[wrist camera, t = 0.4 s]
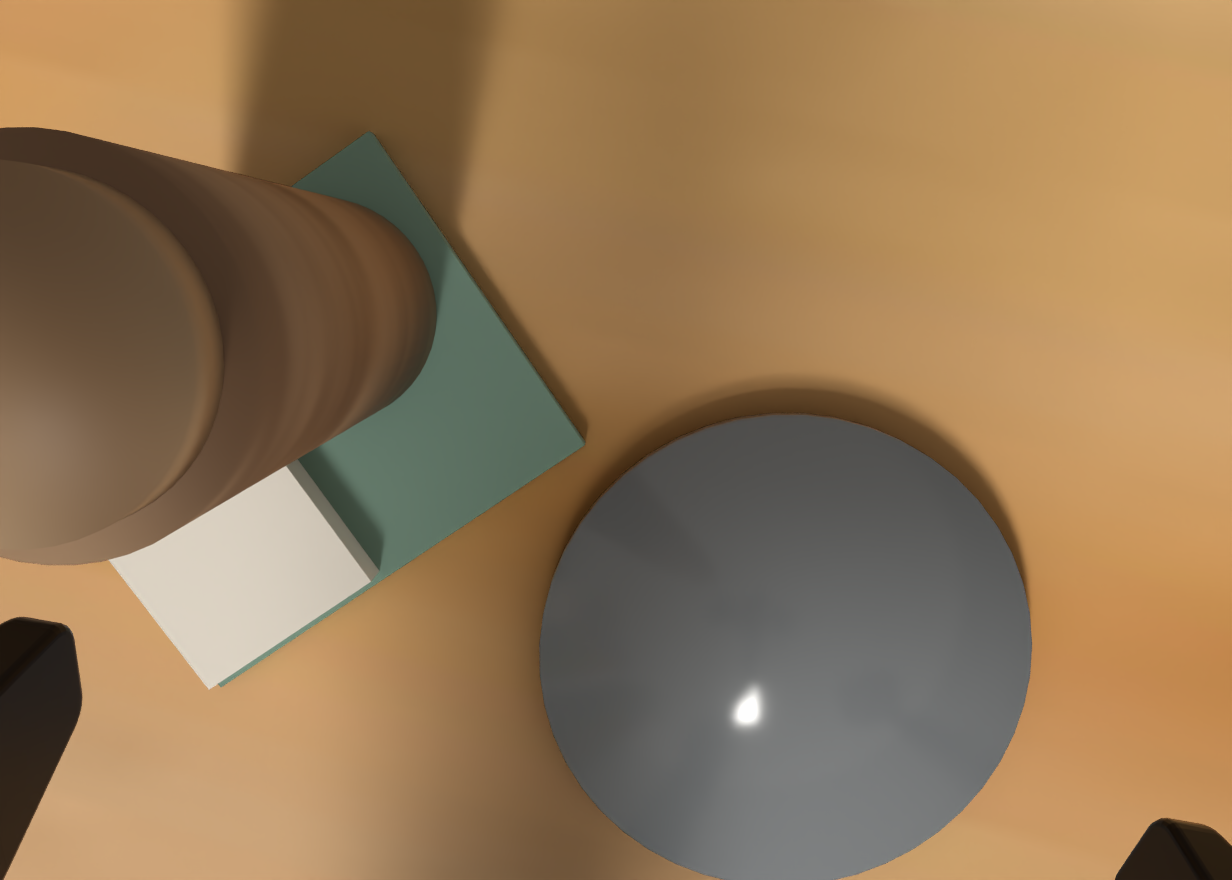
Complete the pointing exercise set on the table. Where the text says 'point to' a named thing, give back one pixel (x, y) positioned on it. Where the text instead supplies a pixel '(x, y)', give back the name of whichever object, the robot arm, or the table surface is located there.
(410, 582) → the table surface
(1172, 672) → the table surface
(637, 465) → the trivet
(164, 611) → the mat
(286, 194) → the pepper mill
